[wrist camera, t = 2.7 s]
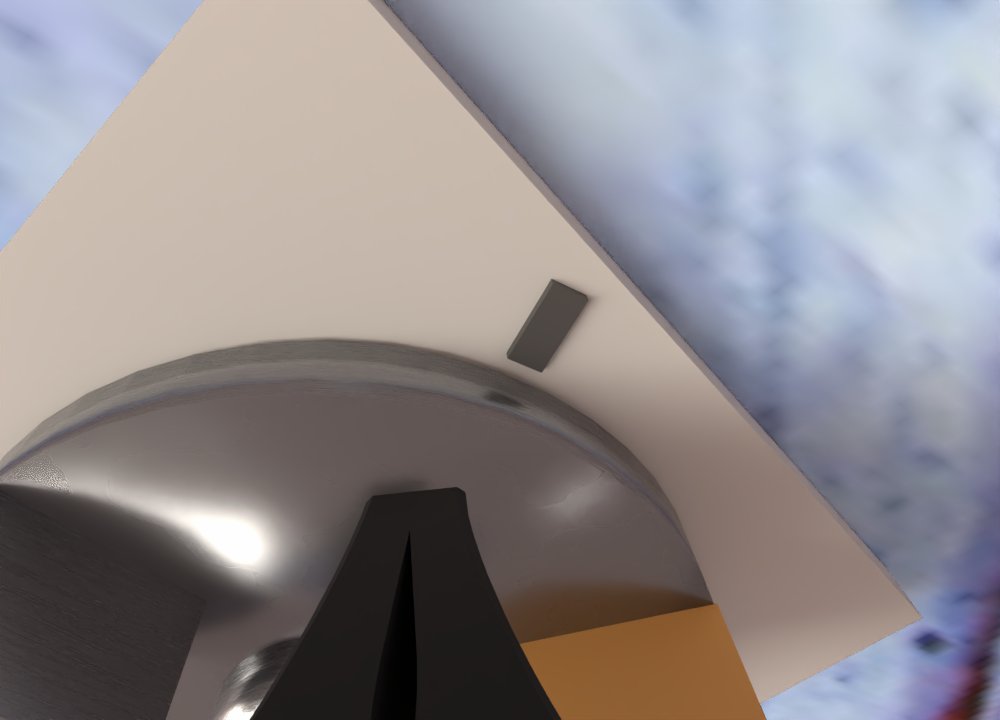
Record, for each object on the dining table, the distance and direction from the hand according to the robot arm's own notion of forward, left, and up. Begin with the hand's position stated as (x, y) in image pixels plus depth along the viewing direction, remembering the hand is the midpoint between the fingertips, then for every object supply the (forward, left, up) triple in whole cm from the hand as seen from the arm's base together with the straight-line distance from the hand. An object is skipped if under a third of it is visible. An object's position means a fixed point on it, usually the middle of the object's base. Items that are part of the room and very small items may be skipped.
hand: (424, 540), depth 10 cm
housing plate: (-3, +6, -5) cm, 8 cm away
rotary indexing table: (-3, +6, -3) cm, 7 cm away
